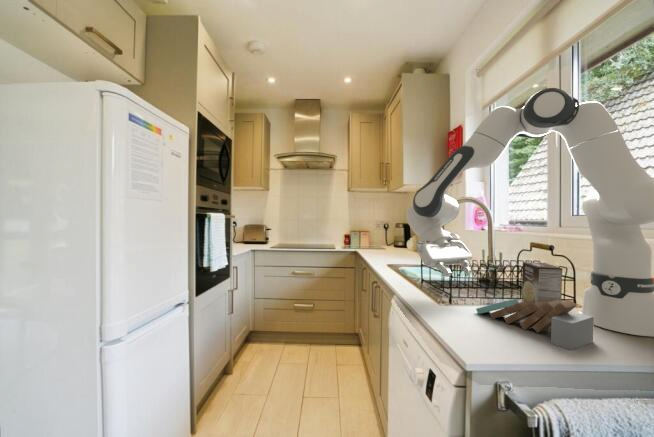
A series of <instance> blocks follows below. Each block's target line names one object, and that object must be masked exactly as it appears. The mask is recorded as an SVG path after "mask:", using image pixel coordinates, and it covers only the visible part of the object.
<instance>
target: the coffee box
mask: <svg viewBox="0 0 654 437" xmlns="http://www.w3.org/2000/svg"><path fill="white" fill-rule="evenodd" d="M521 277H522V278H521V280H522V282H521V288H522V289H521V302H526V301H531V302H532V303H533V304H534V303H538V302H543V301H546V302H547V303H548V302H552V301H556V300H559V301H560V302H562V293H563V292H562V291H563V290H562V289H563V287H562V285H563V268H562V267H560V266H557V265H553V264H550V263H546V262H532V261H531V262H529V261H523V262H522V276H521ZM529 317H530V316H529ZM527 318H528V317H527ZM527 318H526V319H527Z"/></svg>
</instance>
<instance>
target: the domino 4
mask: <svg viewBox="0 0 654 437" xmlns="http://www.w3.org/2000/svg"><path fill="white" fill-rule="evenodd" d="M559 303H560V301H559V300H556V301H552V302H548V303H546V304H545V305H544V306H543V307H541V308H540V309H539V310H537V311H536V312H535V313H534V314H532V315H531V316H530V317H528V318H525V319H524V320H523V321H522V322H521V323H520V324H519V325H520V326H521V328H522V329H523V330H525V331H526V330H528V329H533V328H532V327H533V326H534V325H535V324H536V323H537V322H538V321H540V320H541V319H542V318H543V317H544V316H545V315H546V314H547V313H549V312H550V311H551V310H552V309H553V308H554V307H555V306H556V305H558V304H559Z"/></svg>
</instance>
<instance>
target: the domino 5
mask: <svg viewBox="0 0 654 437" xmlns="http://www.w3.org/2000/svg"><path fill="white" fill-rule="evenodd" d="M577 306H578V305H577V303H575V301H573V300H572V299H569V300H566V301H561V302H560V303H559V304H558V305H556V306H555V307H554V308H553V309H552V310H551V311H550V312H549V313H547V314H546V315H545V316H544V317H543V318H542V319H541V320H540V321H538V322H537V323H536V324H535V325H534V326H533V327H532V328H531V329H533V330H534V331H535V332H537V333H542V332H545V331H547V330H549V329H551V319H552V317H555V316H559V315H563V314H566V313H570V312H572V310H574V309H575V308H576V307H577Z"/></svg>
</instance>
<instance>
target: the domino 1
mask: <svg viewBox="0 0 654 437" xmlns="http://www.w3.org/2000/svg"><path fill="white" fill-rule="evenodd" d="M515 304H518V300H517V299H516V298H515V299H509V300H506V301H501V302H497V303H494V304H490V305H486V306H485V305H484V306H481V307H477V308H475V310H476V312H477V314H478V315H480V314H485V313H489V312H490V313H491V312H495V311H498V310H501V309H504V308H507V307H509V306H512V305H515Z"/></svg>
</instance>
